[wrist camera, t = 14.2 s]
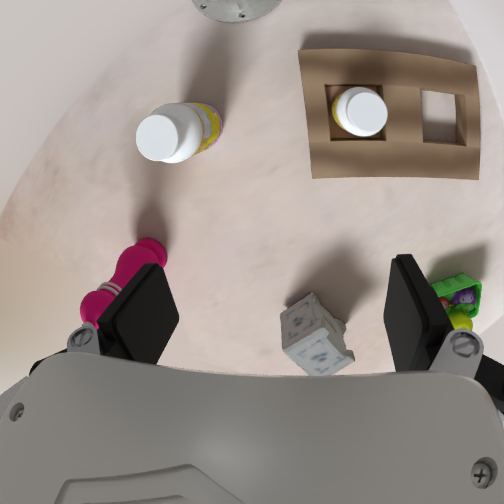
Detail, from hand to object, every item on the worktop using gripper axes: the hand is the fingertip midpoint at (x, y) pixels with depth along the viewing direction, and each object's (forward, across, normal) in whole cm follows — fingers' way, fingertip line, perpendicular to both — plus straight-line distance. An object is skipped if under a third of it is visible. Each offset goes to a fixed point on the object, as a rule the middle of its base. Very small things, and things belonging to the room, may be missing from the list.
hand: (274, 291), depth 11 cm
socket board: (+28, -14, -6) cm, 32 cm away
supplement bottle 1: (+28, +12, -6) cm, 32 cm away
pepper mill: (+28, +25, +13) cm, 40 cm away
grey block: (+29, -2, +26) cm, 39 cm away
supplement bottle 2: (+28, -8, -6) cm, 30 cm away
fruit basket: (+29, -25, +23) cm, 44 cm away
